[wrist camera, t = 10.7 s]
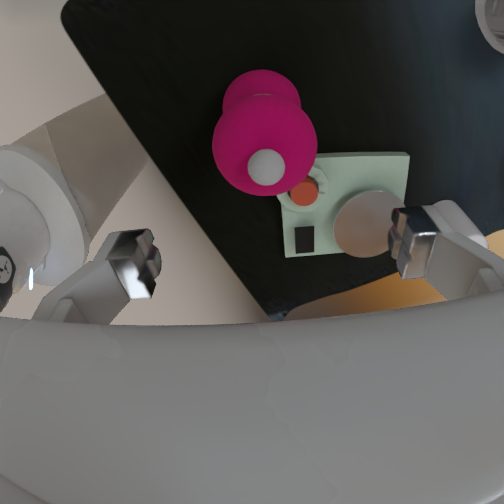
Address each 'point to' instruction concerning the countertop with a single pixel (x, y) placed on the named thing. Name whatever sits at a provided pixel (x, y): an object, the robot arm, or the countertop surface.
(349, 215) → the scale top
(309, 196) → the button
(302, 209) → the scale
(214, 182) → the countertop surface
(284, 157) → the pepper mill
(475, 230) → the pill bottle
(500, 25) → the french press
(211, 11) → the countertop surface
